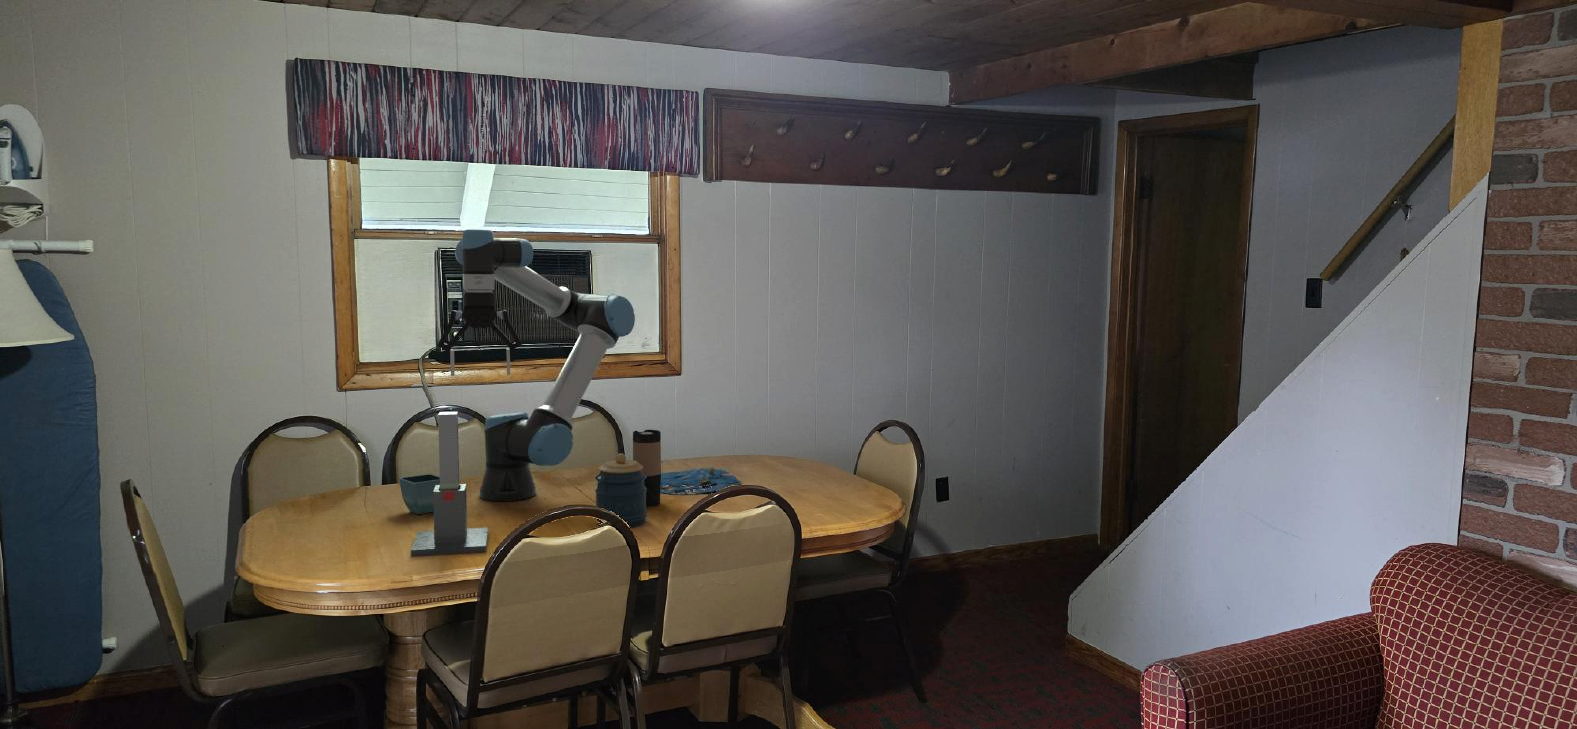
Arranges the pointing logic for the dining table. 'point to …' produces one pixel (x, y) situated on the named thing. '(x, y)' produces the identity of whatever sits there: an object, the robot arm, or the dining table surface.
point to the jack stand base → (450, 527)
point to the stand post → (448, 450)
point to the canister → (622, 490)
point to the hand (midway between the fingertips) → (480, 375)
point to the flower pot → (419, 492)
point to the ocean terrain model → (697, 480)
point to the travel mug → (649, 462)
